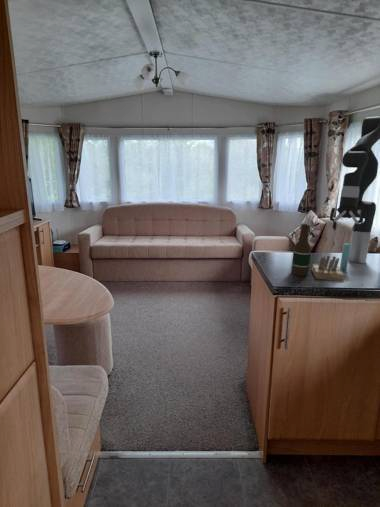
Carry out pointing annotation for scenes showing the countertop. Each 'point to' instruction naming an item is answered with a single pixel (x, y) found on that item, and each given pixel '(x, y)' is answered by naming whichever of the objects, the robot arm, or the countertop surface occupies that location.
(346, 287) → the countertop surface
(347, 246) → the peg
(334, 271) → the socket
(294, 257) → the beer bottle
